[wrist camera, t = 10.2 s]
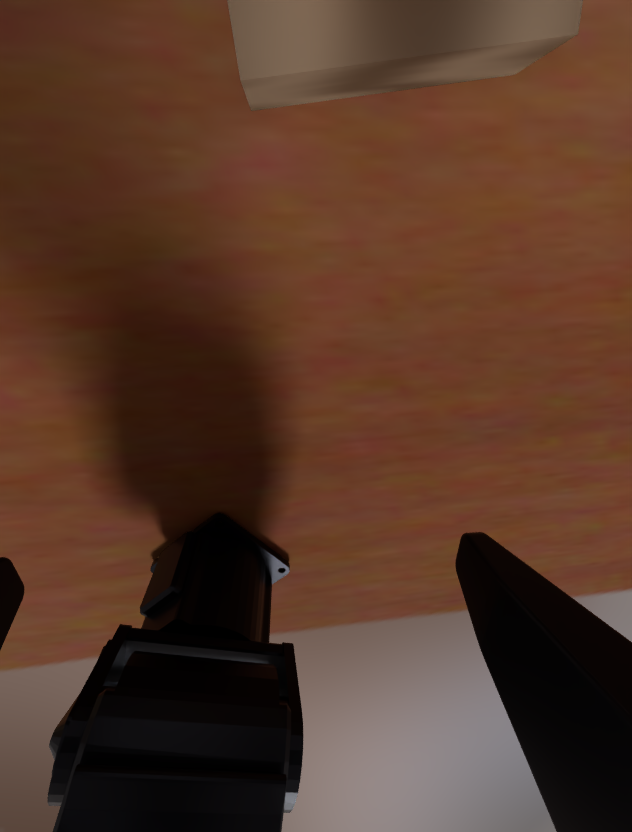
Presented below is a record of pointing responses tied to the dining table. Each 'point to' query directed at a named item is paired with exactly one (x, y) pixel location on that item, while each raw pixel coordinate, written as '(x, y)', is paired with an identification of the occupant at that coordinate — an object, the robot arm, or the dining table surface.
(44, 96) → the dining table surface
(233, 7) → the beige block
